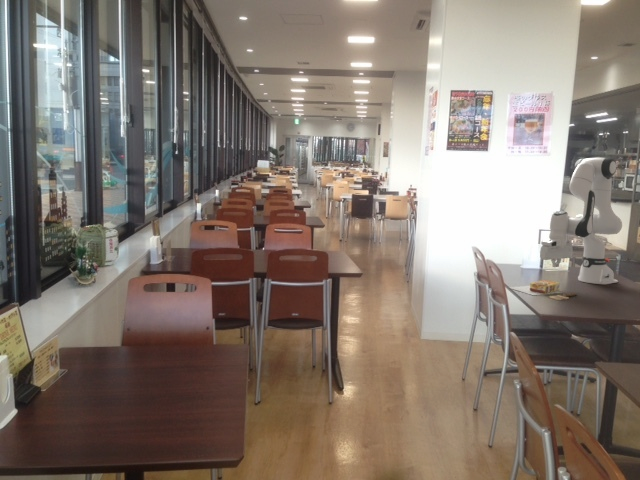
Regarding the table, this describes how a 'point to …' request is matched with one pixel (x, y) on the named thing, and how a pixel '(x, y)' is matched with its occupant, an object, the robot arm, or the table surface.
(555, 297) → the turner
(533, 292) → the mat
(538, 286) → the candy box
